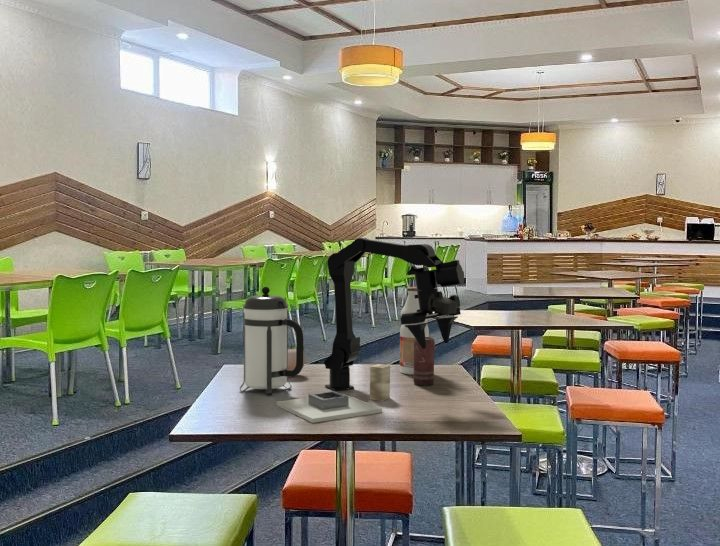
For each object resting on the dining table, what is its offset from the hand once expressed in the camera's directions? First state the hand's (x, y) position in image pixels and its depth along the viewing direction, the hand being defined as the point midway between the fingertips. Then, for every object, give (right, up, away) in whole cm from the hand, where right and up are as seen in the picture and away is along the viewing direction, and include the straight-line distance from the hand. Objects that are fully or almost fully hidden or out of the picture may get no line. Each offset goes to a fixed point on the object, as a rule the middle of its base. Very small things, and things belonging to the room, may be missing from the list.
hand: (435, 345), depth 194 cm
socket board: (-29, -15, -11) cm, 34 cm away
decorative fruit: (-42, -13, +31) cm, 54 cm away
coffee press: (-47, -14, +10) cm, 50 cm away
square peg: (-15, -15, +1) cm, 21 cm away
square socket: (-29, -15, -11) cm, 34 cm away
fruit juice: (-3, -13, +38) cm, 40 cm away
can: (-1, -14, +20) cm, 24 cm away
